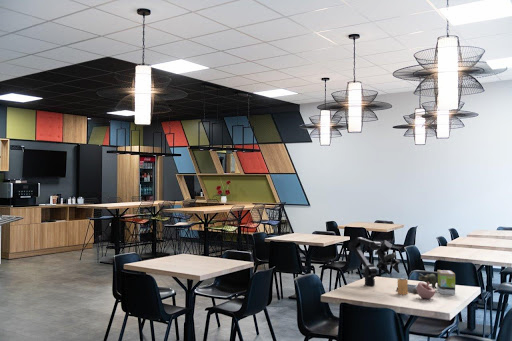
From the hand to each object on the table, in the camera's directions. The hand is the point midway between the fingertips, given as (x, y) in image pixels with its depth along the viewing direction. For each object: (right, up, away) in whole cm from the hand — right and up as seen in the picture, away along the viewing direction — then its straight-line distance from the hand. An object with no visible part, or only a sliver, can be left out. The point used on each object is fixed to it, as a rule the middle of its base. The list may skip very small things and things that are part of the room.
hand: (394, 273), depth 340 cm
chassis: (+13, -13, +4) cm, 19 cm away
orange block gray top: (+4, -13, -7) cm, 15 cm away
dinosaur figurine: (+33, -14, +15) cm, 39 cm away
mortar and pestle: (+15, -13, -21) cm, 29 cm away
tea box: (+37, -13, -1) cm, 39 cm away
